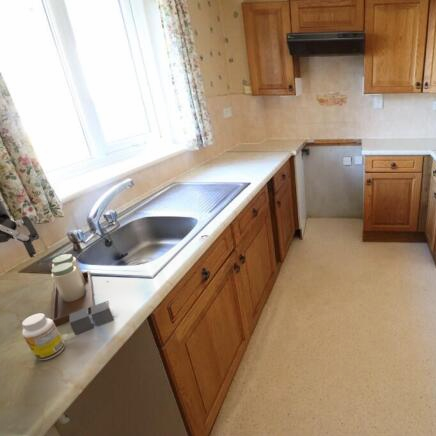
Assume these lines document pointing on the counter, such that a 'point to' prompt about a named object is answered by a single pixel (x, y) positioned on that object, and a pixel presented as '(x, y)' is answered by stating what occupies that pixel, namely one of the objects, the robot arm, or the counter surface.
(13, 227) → the robot arm
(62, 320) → the tray
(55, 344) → the supplement bottle
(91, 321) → the grey blocks
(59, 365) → the counter surface
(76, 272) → the cream bottles
